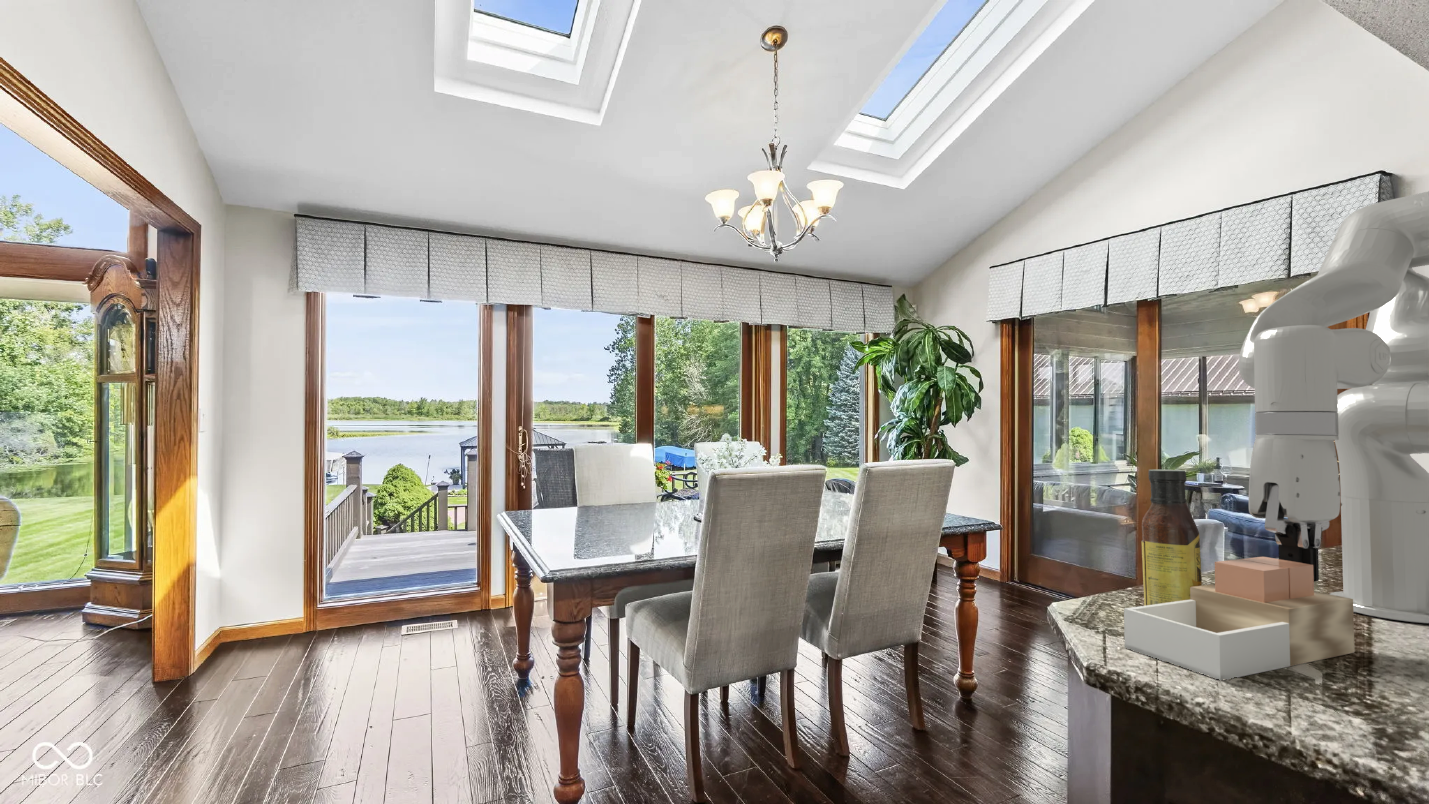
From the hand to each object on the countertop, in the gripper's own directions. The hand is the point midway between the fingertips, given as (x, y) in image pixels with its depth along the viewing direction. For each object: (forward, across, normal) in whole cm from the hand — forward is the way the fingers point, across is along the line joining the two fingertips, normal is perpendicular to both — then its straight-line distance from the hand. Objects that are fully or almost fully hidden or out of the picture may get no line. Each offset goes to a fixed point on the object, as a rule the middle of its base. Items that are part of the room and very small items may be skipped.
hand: (1298, 579), depth 77 cm
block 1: (+1, +9, 0) cm, 9 cm away
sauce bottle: (+7, +8, -10) cm, 15 cm away
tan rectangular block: (+7, +6, 0) cm, 9 cm away
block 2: (+1, +4, 0) cm, 4 cm away
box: (+7, +18, 0) cm, 19 cm away
